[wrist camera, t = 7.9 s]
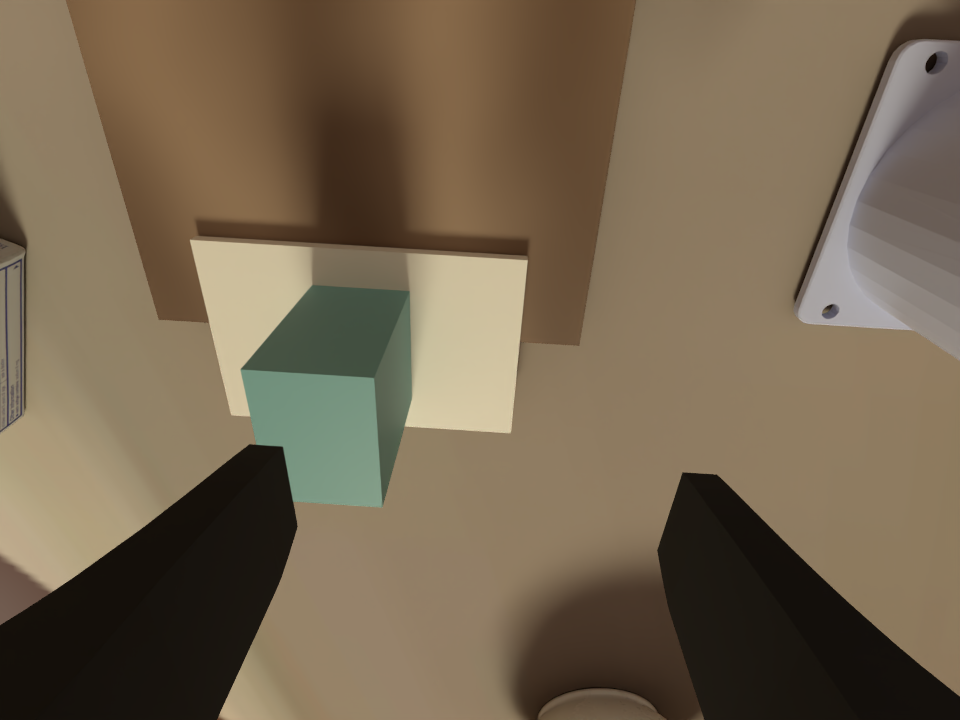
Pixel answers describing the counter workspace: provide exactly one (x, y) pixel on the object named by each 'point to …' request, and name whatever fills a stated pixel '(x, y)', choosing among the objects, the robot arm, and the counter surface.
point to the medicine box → (11, 333)
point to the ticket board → (363, 131)
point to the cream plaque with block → (360, 350)
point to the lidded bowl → (599, 706)
